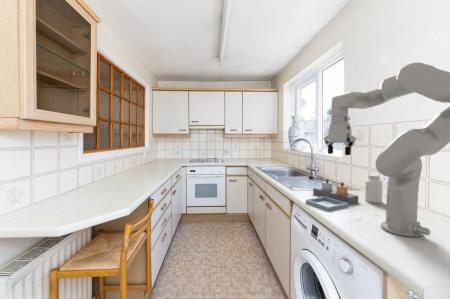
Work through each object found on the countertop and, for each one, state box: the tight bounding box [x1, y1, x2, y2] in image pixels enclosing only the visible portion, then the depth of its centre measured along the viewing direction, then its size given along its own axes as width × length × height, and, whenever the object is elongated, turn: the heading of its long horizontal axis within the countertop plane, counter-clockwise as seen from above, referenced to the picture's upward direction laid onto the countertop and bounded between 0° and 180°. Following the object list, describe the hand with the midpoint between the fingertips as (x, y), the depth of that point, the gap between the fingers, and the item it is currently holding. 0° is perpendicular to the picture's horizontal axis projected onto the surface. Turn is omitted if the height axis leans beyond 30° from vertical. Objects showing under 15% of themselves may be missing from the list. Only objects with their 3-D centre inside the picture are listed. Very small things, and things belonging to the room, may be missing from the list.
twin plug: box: [321, 178, 333, 191], centre depth 134 cm, size 4×4×11 cm
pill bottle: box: [364, 174, 383, 204], centre depth 124 cm, size 8×8×15 cm
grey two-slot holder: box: [312, 186, 359, 205], centre depth 129 cm, size 24×8×4 cm, turn 25°
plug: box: [336, 181, 349, 195], centre depth 124 cm, size 4×4×11 cm
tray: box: [305, 196, 349, 212], centre depth 117 cm, size 15×15×3 cm
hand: (338, 154), depth 110 cm, fingers open, 9 cm apart
